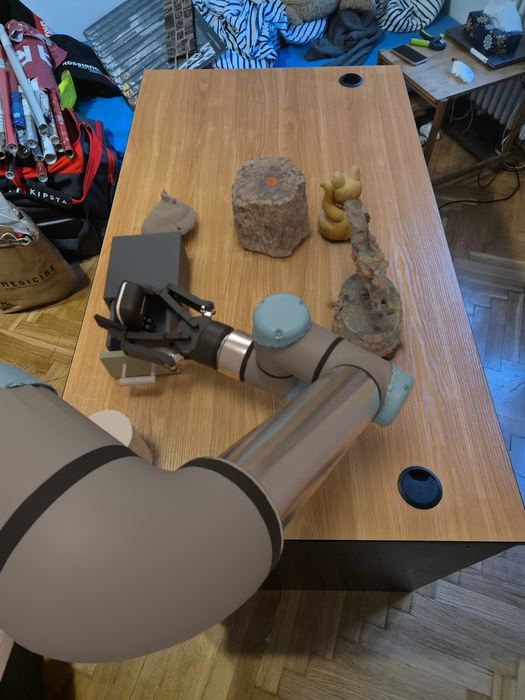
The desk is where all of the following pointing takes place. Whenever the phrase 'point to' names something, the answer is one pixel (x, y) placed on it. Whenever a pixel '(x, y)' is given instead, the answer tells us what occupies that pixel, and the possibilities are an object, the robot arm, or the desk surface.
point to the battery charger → (133, 308)
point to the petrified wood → (270, 205)
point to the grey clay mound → (169, 217)
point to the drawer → (131, 366)
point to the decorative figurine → (339, 203)
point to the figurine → (368, 293)
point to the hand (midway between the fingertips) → (111, 302)
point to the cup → (122, 432)
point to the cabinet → (146, 262)
